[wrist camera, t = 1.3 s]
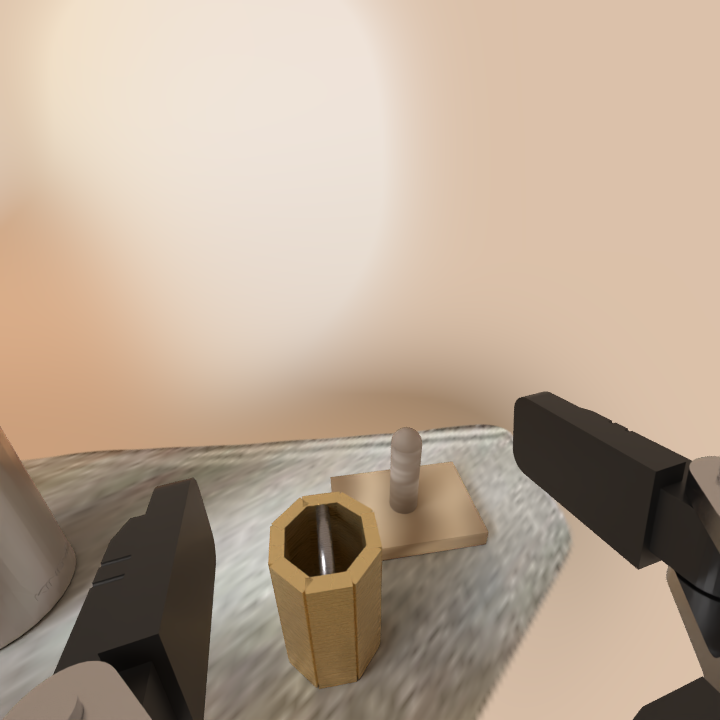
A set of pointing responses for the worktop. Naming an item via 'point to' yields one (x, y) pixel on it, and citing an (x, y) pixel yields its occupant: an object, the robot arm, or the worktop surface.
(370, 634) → the sleeve
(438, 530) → the shaft base
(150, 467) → the worktop surface
